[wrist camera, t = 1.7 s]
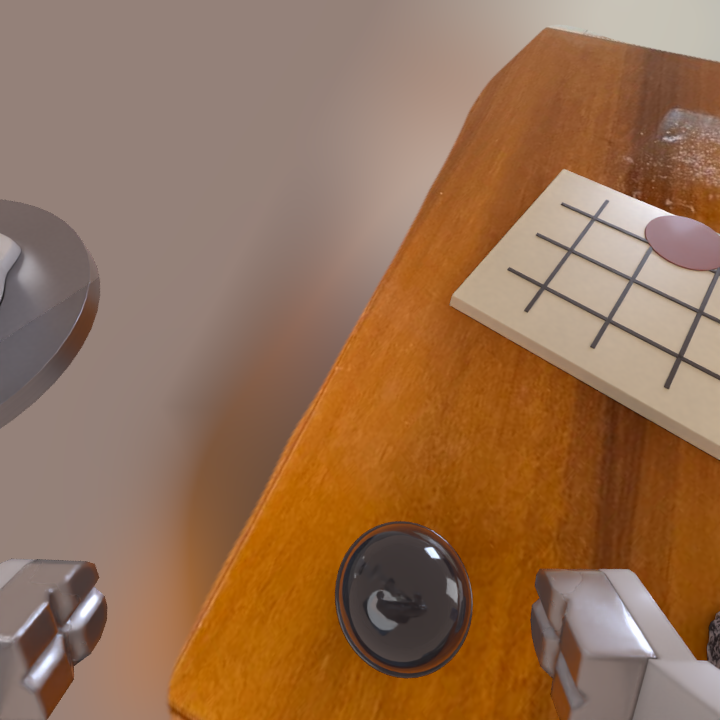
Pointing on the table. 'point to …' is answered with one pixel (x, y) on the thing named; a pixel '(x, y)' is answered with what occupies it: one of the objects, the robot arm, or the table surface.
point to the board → (612, 301)
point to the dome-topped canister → (403, 599)
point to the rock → (714, 642)
